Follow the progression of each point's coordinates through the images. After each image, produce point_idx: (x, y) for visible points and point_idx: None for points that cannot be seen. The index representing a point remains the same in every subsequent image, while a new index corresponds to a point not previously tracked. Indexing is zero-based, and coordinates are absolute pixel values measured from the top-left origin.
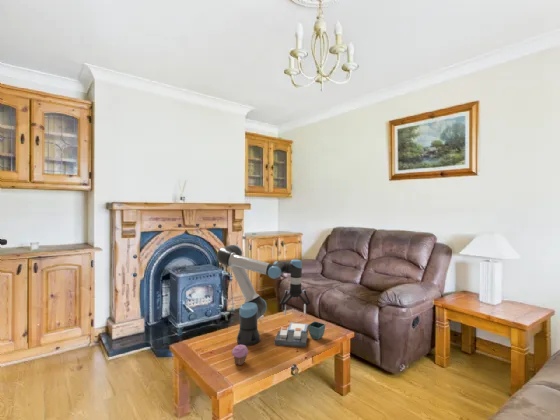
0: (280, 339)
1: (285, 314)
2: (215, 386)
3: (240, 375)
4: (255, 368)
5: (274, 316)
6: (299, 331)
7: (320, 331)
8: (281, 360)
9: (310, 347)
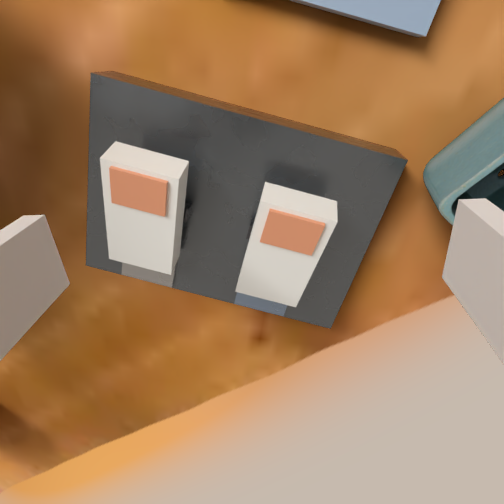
0: (131, 271)
1: (56, 295)
2: None
3: (8, 461)
4: (52, 436)
5: None
6: (301, 257)
7: None
8: (163, 404)
9: (361, 308)
